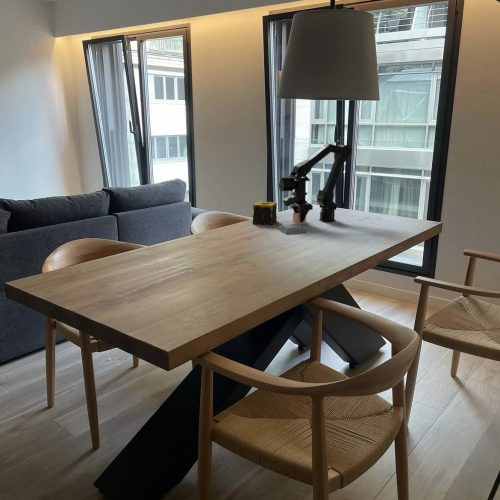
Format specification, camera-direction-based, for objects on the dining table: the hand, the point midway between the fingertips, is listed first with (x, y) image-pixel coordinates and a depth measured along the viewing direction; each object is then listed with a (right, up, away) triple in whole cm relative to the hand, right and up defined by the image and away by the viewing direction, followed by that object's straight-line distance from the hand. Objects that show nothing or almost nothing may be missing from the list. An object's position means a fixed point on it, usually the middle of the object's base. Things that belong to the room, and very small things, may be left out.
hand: (299, 221), depth 246 cm
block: (0, -1, 0) cm, 1 cm away
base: (-5, -6, -16) cm, 18 cm away
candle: (-17, -1, +2) cm, 18 cm away
